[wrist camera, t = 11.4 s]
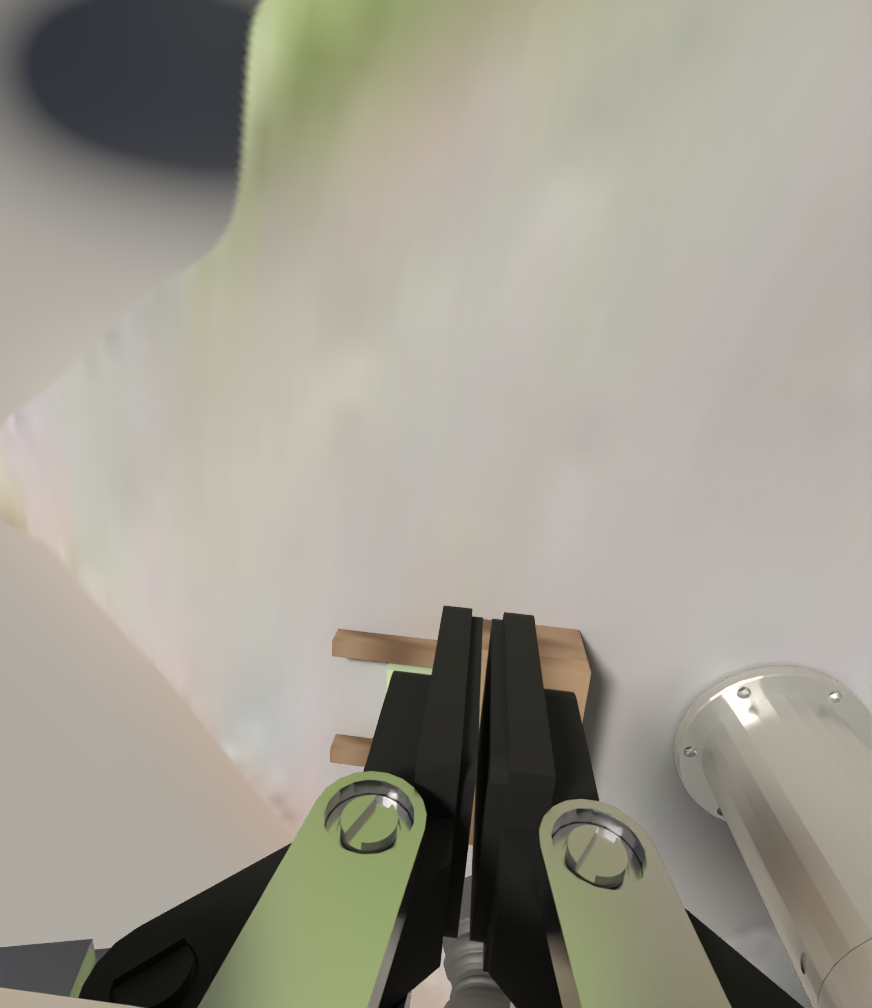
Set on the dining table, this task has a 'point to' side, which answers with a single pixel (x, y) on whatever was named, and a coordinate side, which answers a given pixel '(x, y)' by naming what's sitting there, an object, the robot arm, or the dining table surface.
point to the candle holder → (469, 966)
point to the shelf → (558, 665)
